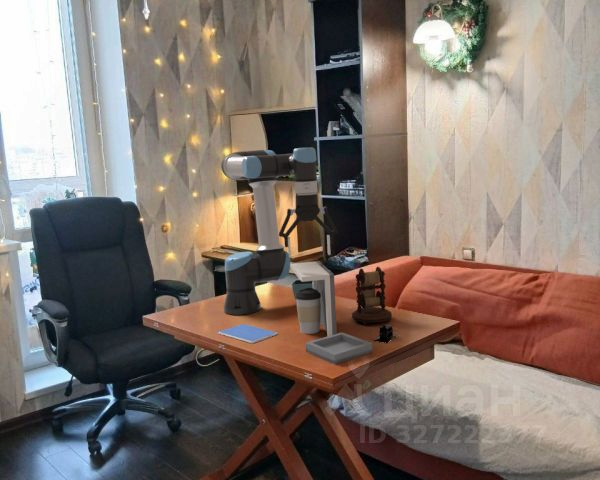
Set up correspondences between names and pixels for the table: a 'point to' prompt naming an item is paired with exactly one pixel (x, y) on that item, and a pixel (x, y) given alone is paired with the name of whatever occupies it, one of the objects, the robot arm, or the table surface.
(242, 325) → the blue piece
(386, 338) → the black angled block
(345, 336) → the tray
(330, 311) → the cubby
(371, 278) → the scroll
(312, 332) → the coffee cup
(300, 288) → the flower pot
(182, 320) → the table surface
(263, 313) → the table surface
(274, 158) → the robot arm
